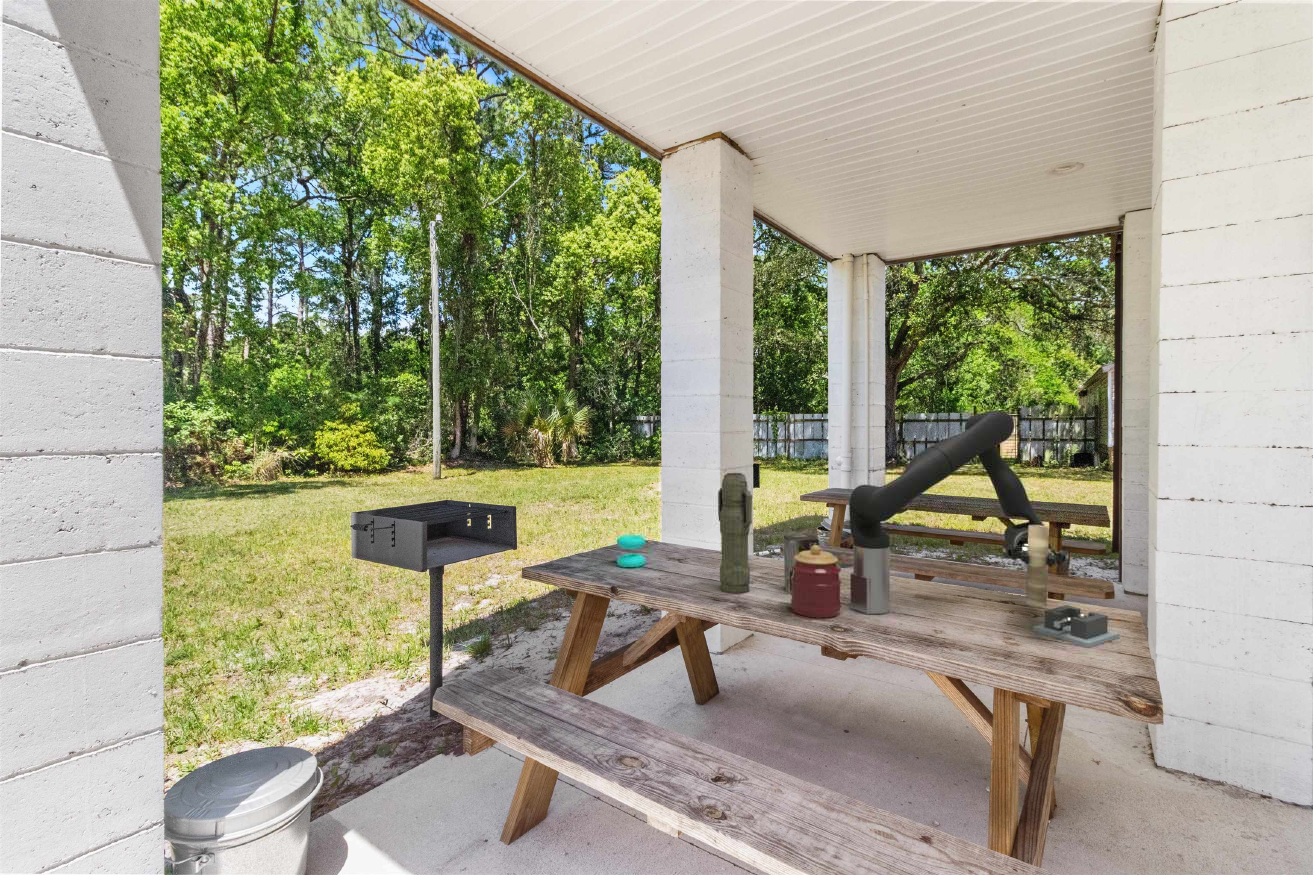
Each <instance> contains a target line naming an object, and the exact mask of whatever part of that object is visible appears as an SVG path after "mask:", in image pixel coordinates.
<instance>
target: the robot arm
mask: <svg viewBox="0 0 1313 875" xmlns="http://www.w3.org/2000/svg"><path fill="white" fill-rule="evenodd" d="M1014 429H1015V422H1014V419H1013V417H1012V416H1011V414H1009V413H1008V412H1006V411H1003V410H997V409H996V410H989V411H984V412H981V413H976V414H973V415H971V416H970V417H969V418H967V420H966V422H965V424H964V431H963V432H961V433H957V434H956V435H953V436H949V437H948V438H945V439H943V440H941V441H939V442H936V443H935V444H932V445H930V446H929V447H927V448H925V449H924V450H922V451H921V452H919V453H917V454H916V455H915V456H914V457H913V458H912V459H911V460H910V461H909V463H908V464H907V466H906V468H905V470H904V472H903V473H902V474H901V475H899V477H897V478H895V479H893V480H892V481H890V482H888V483H886V484H883V485H882V486H877V485H871V484H861V485H858V486H856V487H855V488H854V490H853V491H852V492H851V495H850V498H849V504H848V505H849V508H848V509H849V528H850V534H851V537H852V540H853V541H852V542H853V552H852V553H853V554H852V556H853V558H852V559H853V560H852V564H853V565H852V567H853V568H852V570H853V571H852V572H851V573H850V580H849V581H850V584H849V585H850V592H849V593H850V594H849V595H850V596H849V597H850V600H849V602H850V608H849V609H853V610H855V611H859V612H861V613H862V614H863V613H864V614H866V615H871V614H874V615H877V614H878V615H881V614H887V613H888V612H890V609H891V608H890V606H891V605H890V603H891V601H890V598H891V597H890V596H891V595H890V592H891V591H890V589H891V588H890V586H891V585H890V583H891V582H890V581H891V580H890V579H891V578H890V577H891V576H890V575H891V574H890V572H891V570H890V569H891V568H890V567H891V566H890V565H891V564H890V562H891V558H890V557H891V553H890V552H891V539H890V536H889V534H888V533H887V532H886V531H885V530H884V528H883V526H882V523H881V522H886V521H888V520H890V519H891V518H893V517H894V516H895V515H897V514H898V513H899V512H900V511H901V510H902V509H904V508H905V507H906V506H907V505H909V503H911V502H912V501H913V500H914V499H916V498H917V497H919V496H921V495H922V494H923V493H925V492H926V491H928V490H929V489H931V488H933V487H934V486H935V485H937V484H939V483H940V482H942V481H944V480H945V479H947V478H948V477H950V476H951V475H952V474H954V473H955V472H956V471H958V470H960V469H961V468H962V467H963V466H965V465H967V464H968V463H970V462H971V461H972V460H973V459H975V458H976V457H977V458H978V459H979V460H980V462H981V465H982V466H983V468H984V470H985V472H986V474H987V476H988V477H989V480H990V481H991V484H992V486H993V488H994V490H995V494H996V496H997V499H998V502H999V505H1000V508H1001V510H1002V512H1003V513H1002V514H1004V516H1005V517H1009V518H1024V519H1026V520H1027V522H1022V523H1018V524H1013V525H1012V524H1011V525H1010V526H1008V527H1006V528H1005V529H1004V533H1003V535H1004V541H1005V544H1003V545H1002V555H1003V556H1005V557H1007V558H1009V559H1010V560H1013V561H1017V560H1018V559H1019V561H1021V562H1022V563H1024V564H1025V565H1027V564H1029V554H1028V525H1042V526H1045V524H1044V523H1043V522H1042V521H1041V519H1040V518H1039V517H1038V515H1037V514H1036V512H1035V511H1034V508H1033V507H1032V504H1031V502H1030V500H1029V497H1028V494H1027V491H1026V489H1025V486H1024V484H1023V483H1022V480H1021V479H1020V478H1019V477H1018V475H1017V474H1016V473H1015V471H1014V470H1013V469H1011V467H1010V466H1009V465H1008V464H1007V463H1006V461H1005V460H1004V459H1003V457H1002V455H1001V454H1000V452H999V450H998V447H997V446H998V445H999V444H1002V443H1003V442H1006V441H1007V440H1008V439H1009V438H1010V437H1011V436H1012V434H1013V432H1014ZM1050 538H1051V535H1050V534H1049V541H1050V540H1051V539H1050ZM1068 561H1069V550H1067V549H1061V550H1059V551H1056V550H1055V549H1053V548H1052V546H1051V544H1050V543H1048V567H1050V568H1052V567H1053V566H1056V565H1059V566H1063V565H1064V564H1066V563H1067V562H1068Z"/></svg>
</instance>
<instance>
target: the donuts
mask: <svg viewBox="0 0 1313 875" xmlns="http://www.w3.org/2000/svg"><path fill="white" fill-rule="evenodd" d="M645 543H646V538H644V536H642V535H638V534H627V535H626V534H625V535H622V536H619V537H617V539H616V544H617V545H618V546H619V548H622V549H626V550H627V549H628V550H633V549H634V550H635V549H639V548H641V547H643V546H645ZM616 563H617V565H618V566H619V567H621V566H623V567H622V568H625V567H636V568H640V567H639V566H641V567H643V566H644V565H645V563H646V558H645V556H643V555H642V554H639V553H631V552H630V553H624V554H622V555H620V556H618V557H617V560H616ZM642 565H643V566H642Z"/></svg>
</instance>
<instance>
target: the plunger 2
mask: <svg viewBox="0 0 1313 875" xmlns="http://www.w3.org/2000/svg"><path fill="white" fill-rule="evenodd" d="M1090 612H1093V611H1090V610H1089V611H1086V612H1084V613H1082V612H1080V614H1078V616H1077V617H1078V618H1081V619H1083V618H1087V617H1088V613H1090ZM1094 612H1095V613H1097V612H1096V611H1094Z"/></svg>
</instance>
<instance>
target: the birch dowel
mask: <svg viewBox="0 0 1313 875" xmlns="http://www.w3.org/2000/svg"><path fill="white" fill-rule="evenodd" d="M1049 535H1050V526H1047V525H1046V526H1045V525H1044V526H1042V525H1028V554H1029V564H1026V586H1025V587H1026V590H1025V595H1026V596H1025V602H1026V604H1028V605H1031V606H1036V607H1045V606H1047V604H1048V603H1047V601H1048V600H1047V595H1048V572H1049V569H1048V567H1049V566H1048V543H1049V542H1050V540H1049ZM1049 544H1050V543H1049Z"/></svg>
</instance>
